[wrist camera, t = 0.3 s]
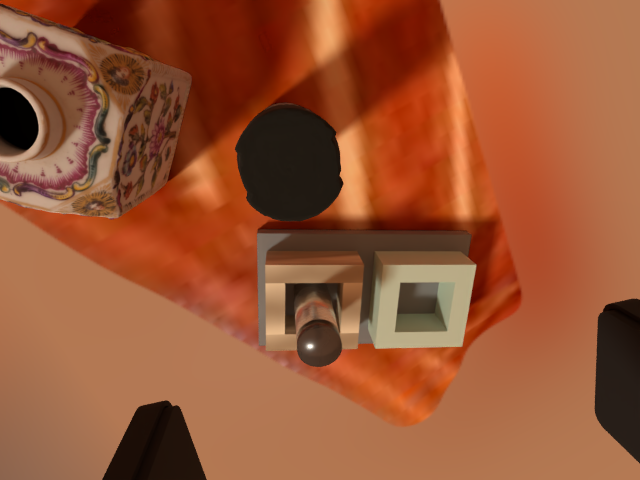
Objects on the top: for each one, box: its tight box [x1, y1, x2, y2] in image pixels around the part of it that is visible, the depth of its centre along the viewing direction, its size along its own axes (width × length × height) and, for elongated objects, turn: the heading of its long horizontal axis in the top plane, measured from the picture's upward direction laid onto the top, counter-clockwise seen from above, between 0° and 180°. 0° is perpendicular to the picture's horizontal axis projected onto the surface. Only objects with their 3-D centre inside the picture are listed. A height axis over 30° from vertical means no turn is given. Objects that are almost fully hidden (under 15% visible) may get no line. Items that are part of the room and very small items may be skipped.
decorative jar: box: [0, 4, 192, 219], centre depth 31 cm, size 12×12×18 cm
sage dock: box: [368, 251, 476, 348], centre depth 45 cm, size 10×10×4 cm
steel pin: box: [294, 283, 342, 367], centre depth 41 cm, size 4×4×11 cm
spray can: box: [235, 103, 343, 221], centre depth 32 cm, size 7×7×20 cm
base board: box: [257, 229, 472, 346], centre depth 47 cm, size 14×24×2 cm, turn 88°
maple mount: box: [265, 251, 364, 351], centre depth 44 cm, size 10×10×4 cm
